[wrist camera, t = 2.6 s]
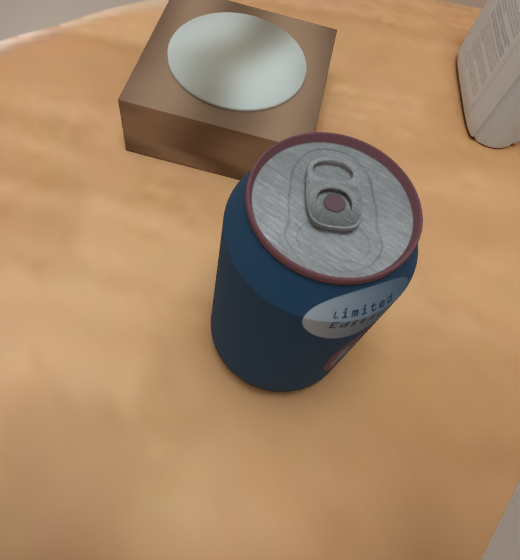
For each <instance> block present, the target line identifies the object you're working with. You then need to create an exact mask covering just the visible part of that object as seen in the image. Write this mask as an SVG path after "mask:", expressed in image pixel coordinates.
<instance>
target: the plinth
mask: <svg viewBox="0 0 520 560" xmlns="http://www.w3.org/2000/svg"><path fill="white" fill-rule="evenodd" d="M336 33H337V30H335V29H332V28H328V27H324V26H321V25H317V24H313V23H309V22H306V21H302V20H298V19H295V18H291V17H287V16H283V15H280V14H276V13H272V12H269V11H265V10H261V9H257V8H254V7H250V6H246V5H243V4H239V3H235V2H231V1H228V0H169V2H168V4H167V6H166V8H165V10H164V12H163V13H162V15H161V17H160V19H159V21H158V23H157V25H156V27H155V29H154V31H153V33H152V35H151V37H150V39H149V41H148V43H147V45H146V47H145V48H144V50H143V52H142V54H141V56H140V58H139V60H138V62H137V64H136V66H135V68H134V70H133V72H132V74H131V76H130V78H129V80H128V82H127V84H126V85H125V87H124V89H123V91H122V93H121V95H120V97H119V99H118V102H119V108H120V114H121V121H122V127H123V133H124V139H125V145H126V150H128V151H132V152H136V153H140V154H144V155H147V156H151V157H155V158H159V159H163V160H167V161H170V162H174V163H178V164H182V165H186V166H190V167H193V168H197V169H201V170H205V171H209V172H213V173H216V174H220V175H224V176H228V177H232V178H236V179H239V180H241V179H242V178H243V177H244V176H245V175H246V174H247V173H248V172H249V171H251V170H252V168H253V166H254V164H255V163H256V161H257V160H258V159H259V158H260V156H261V155H262V154H263V153H264V152H265V151H266V150H268V149H269V148H270V147H272V146H273V145H274V144H276V143H278V142H280V141H282V140H284V139H286V138H289V137H292V136H295V135H299V134H304V133H313V132H315V129H316V124H317V120H318V115H319V111H320V106H321V102H322V97H323V92H324V88H325V83H326V79H327V74H328V69H329V65H330V60H331V56H332V51H333V46H334V42H335V37H336Z"/></svg>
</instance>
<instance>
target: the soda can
mask: <svg viewBox="0 0 520 560" xmlns="http://www.w3.org/2000/svg"><path fill="white" fill-rule="evenodd" d="M422 225H423V215H422V208H421V204H420V200H419V197H418V194H417V192H416V190H415V188H414V186H413V184H412V182H411V181H410V179H409V178H408V176H407V175H406V174H405V172H404V171H403V170H402V169H401V168H400V167H399V166H398V165H397V164H396V163H395V162H394V161H393V160H392V159H391V158H390V157H388V156H387V155H386V154H384V153H383V152H382V151H380V150H378V149H377V148H375V147H373V146H371V145H370V144H367V143H365V142H363V141H361V140H358V139H355V138H352V137H349V136H345V135H341V134H335V133H326V132H313V133H304V134H299V135H295V136H292V137H289V138H286V139H284V140H282V141H280V142H278V143H276V144H274V145H273V146H272V147H270V148H269V149H268V150H266V151H265V152H264V153H263V154H262V155H261V156H260V158H259V159H258V160H257V161H256V163H255V164H254V166H253V168H252V170H251V171H249V172H248V173H247V174H246V175H245V176H244V177H243V178H242V179H241V180H240V181H239V183H238V184H237V185H236V187H235V188H234V189H233V191H232V193H231V195H230V197H229V199H228V202H227V205H226V208H225V212H224V219H223V227H222V235H221V243H220V251H219V259H218V267H217V275H216V283H215V291H214V299H213V307H212V315H211V332H212V337H213V341H214V344H215V347H216V349H217V351H218V353H219V355H220V357H221V359H222V360H223V361H224V363H225V364H226V365H227V366H228V368H229V369H230V370H231V371H232V372H233V373H235V374H236V375H237V376H238V377H240V378H241V379H242V380H244V381H246V382H247V383H249V384H251V385H253V386H256V387H259V388H262V389H265V390H270V391H278V392H286V391H295V390H299V389H303V388H306V387H308V386H311V385H313V384H315V383H316V382H318V381H319V380H321V379H322V378H323V377H325V376H326V375H327V374H328V373H329V372H330V371H331V370H332V369H333V368H334V366H335V365H336V364H337V363H338V362H339V361H340V360H341V359H342V358H343V357H344V356H345V355H346V354H347V352H348V351H349V350H350V349H351V348H352V347H353V346H354V345H355V344H356V343H357V342H358V341H359V339H360V338H361V337H362V336H363V335H364V334H365V333H366V332H367V331H368V330H369V329H370V328H371V327H372V325H373V324H374V323H375V322H376V321H377V320H378V319H379V318H380V317H381V316H382V315H383V314H384V313H385V311H386V310H387V309H388V308H389V307H390V306H391V305H392V304H393V303H394V302H395V301H396V300H397V298H398V297H399V296H400V295H401V294H402V293H403V292H404V290H405V289H406V287H407V286H408V284H409V282H410V280H411V279H412V276H413V274H414V271H415V268H416V264H417V258H418V241H419V239H420V235H421V232H422Z"/></svg>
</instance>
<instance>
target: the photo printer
mask: <svg viewBox="0 0 520 560" xmlns="http://www.w3.org/2000/svg"><path fill="white" fill-rule="evenodd" d="M457 65H458V74H459V81H460V88H461V95H462V100H463V107H464V113H465V118H466V123H467V127H468V130H469V133H470V135H471V136H473V137H475V140H476V141H477V142H479V143H481V144H483V145H485V146H488V147H492V148H505V147H508V146H510V145H511V144H517V143H518V142H519V141H520V0H487V2H486V4H485V6H484V7H483V9H482V11H481V12H480V14H479V16H478V17H477V19H476V21H475V23H474V24H473V26H472V28H471V29H470V31H469V33H468V34H467V36H466V38H465V40H464V41H463V43H462V45H461V47H460V50H459V52H458V58H457Z"/></svg>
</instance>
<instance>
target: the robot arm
mask: <svg viewBox="0 0 520 560" xmlns="http://www.w3.org/2000/svg"><path fill="white" fill-rule="evenodd" d="M481 560H520V481H519V483H518V485H517V487H516V489H515V492H514V494H513V496H512V498H511V500H510V502H509V504H508V506H507V508H506V510H505V512H504V514H503V516H502V518H501V520H500V522H499V524H498V527H497V529H496V531H495V533H494V535H493V537H492V539H491V541H490V543H489V545H488V547H487V549H486V551H485V553H484V555H483V557H482V559H481Z"/></svg>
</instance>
